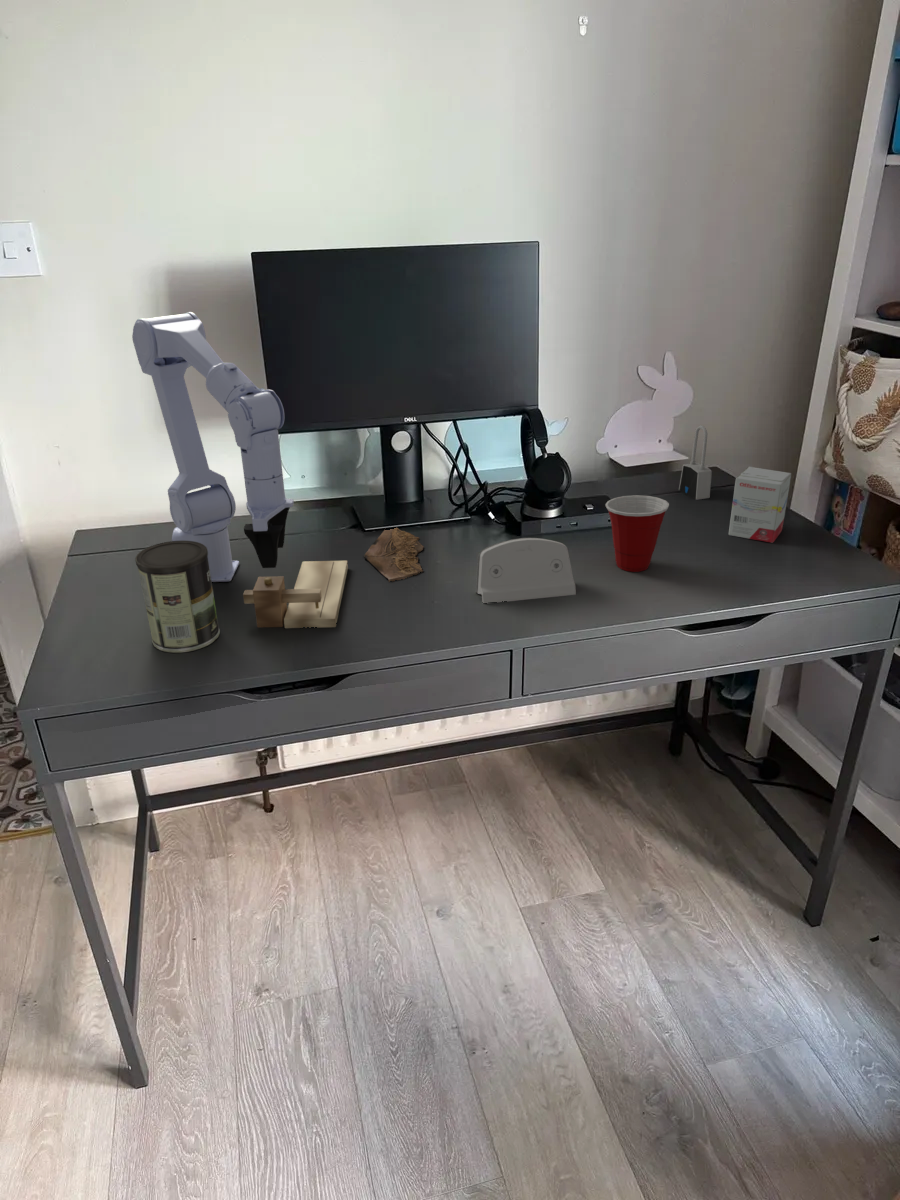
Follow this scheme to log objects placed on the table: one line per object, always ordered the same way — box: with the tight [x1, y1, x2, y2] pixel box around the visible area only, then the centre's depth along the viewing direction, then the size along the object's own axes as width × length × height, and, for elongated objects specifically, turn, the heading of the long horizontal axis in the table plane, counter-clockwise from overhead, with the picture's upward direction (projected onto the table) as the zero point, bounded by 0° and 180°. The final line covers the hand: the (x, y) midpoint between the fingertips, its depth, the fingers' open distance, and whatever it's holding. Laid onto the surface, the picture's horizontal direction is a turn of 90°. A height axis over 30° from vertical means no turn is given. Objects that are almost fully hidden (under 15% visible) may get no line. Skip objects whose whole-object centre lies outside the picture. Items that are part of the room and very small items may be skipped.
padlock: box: [678, 425, 713, 501], centre depth 184 cm, size 7×4×15 cm, turn 20°
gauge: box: [242, 575, 322, 628], centre depth 137 cm, size 12×5×7 cm, turn 91°
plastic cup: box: [604, 494, 670, 573], centre depth 152 cm, size 11×11×12 cm
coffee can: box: [134, 540, 221, 654], centre depth 131 cm, size 10×10×14 cm
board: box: [283, 560, 349, 629], centre depth 145 cm, size 8×22×2 cm, turn 1°
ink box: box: [728, 466, 792, 544], centre depth 165 cm, size 9×9×12 cm
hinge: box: [475, 537, 577, 604], centre depth 145 cm, size 17×5×10 cm, turn 101°
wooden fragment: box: [363, 527, 424, 583], centre depth 162 cm, size 26×11×1 cm, turn 1°
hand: (273, 556), depth 136 cm, fingers open, 7 cm apart
